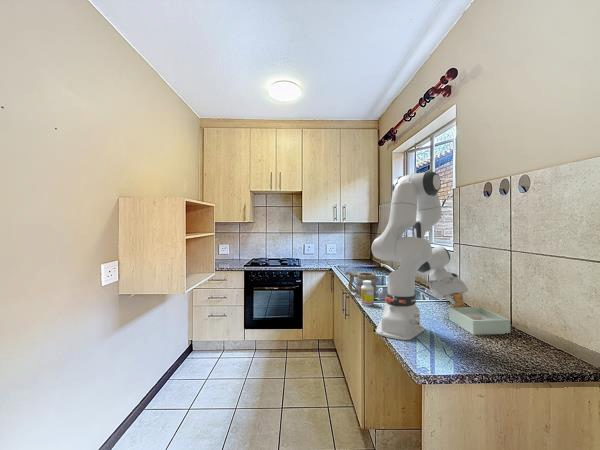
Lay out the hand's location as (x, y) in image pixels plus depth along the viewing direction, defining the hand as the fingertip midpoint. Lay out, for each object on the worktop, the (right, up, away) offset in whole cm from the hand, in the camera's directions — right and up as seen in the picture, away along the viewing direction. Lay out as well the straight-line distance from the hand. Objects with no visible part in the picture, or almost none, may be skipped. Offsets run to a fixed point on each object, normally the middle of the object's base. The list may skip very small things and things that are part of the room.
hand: (459, 303), depth 140 cm
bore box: (0, -6, -14) cm, 16 cm away
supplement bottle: (-39, -7, +22) cm, 45 cm away
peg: (0, -6, +1) cm, 6 cm away
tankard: (-39, -7, +40) cm, 56 cm away
